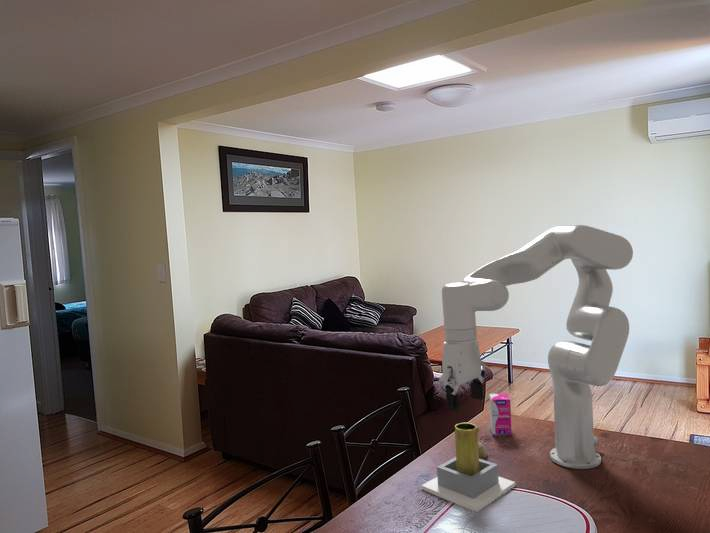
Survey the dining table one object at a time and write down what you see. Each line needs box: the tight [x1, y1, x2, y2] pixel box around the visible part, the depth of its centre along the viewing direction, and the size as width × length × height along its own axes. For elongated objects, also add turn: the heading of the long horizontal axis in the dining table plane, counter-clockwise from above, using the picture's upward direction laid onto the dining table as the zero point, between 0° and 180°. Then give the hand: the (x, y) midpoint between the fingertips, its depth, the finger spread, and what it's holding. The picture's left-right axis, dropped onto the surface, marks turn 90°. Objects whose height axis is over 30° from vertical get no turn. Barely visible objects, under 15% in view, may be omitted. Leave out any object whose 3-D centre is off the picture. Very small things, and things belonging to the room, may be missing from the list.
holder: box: [421, 456, 516, 513], centre depth 127 cm, size 16×16×6 cm
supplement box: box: [488, 393, 513, 437], centre depth 159 cm, size 6×6×12 cm
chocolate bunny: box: [472, 422, 488, 460], centre depth 143 cm, size 6×8×10 cm
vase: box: [454, 422, 480, 476], centre depth 126 cm, size 6×6×14 cm
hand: (465, 404), depth 126 cm, fingers open, 9 cm apart
